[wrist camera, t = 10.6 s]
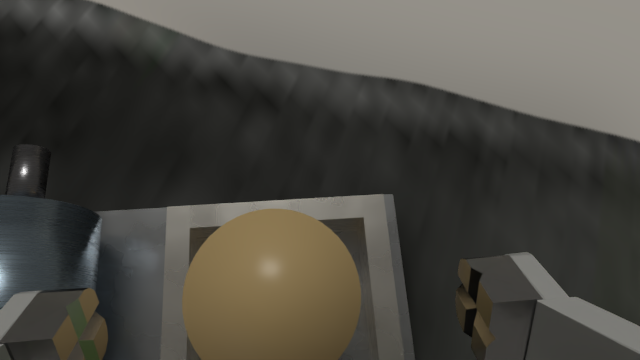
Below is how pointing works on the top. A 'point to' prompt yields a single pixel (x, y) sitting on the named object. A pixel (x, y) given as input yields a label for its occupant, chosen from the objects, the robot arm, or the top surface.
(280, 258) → the tan knob head
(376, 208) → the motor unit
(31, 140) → the top surface
